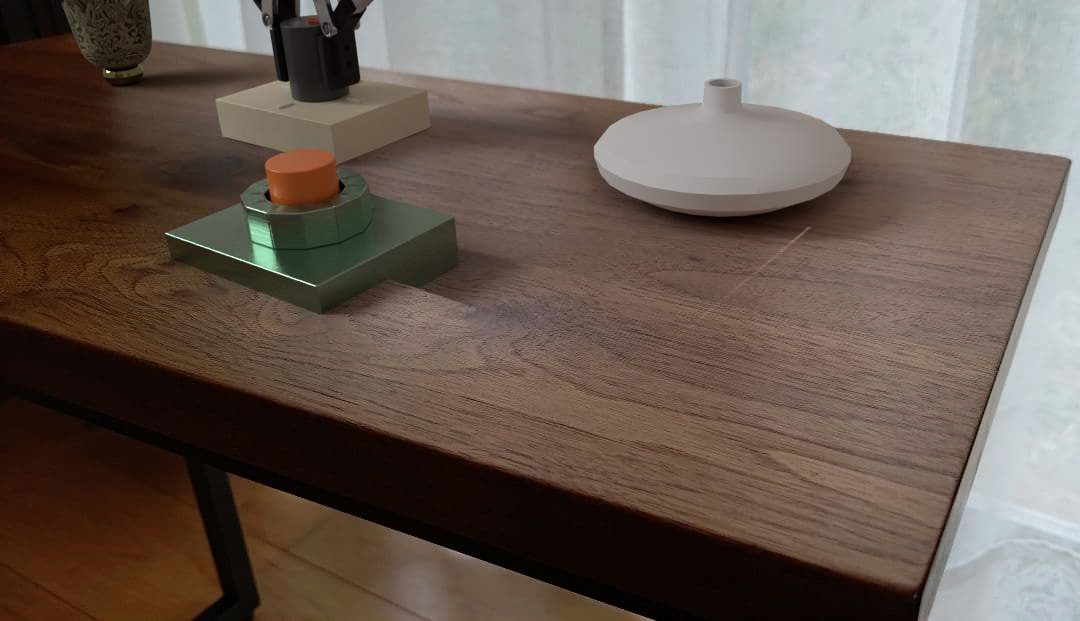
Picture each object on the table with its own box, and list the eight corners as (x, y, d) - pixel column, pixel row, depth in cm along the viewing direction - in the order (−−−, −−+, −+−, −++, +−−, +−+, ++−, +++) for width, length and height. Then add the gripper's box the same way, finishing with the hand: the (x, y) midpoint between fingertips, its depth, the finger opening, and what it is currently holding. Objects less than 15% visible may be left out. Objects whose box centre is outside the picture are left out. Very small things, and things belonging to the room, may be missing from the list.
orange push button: (257, 201, 53) (250, 164, 52) (308, 180, 55) (303, 144, 54) (302, 214, 51) (296, 176, 50) (354, 192, 53) (349, 155, 52)
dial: (279, 97, 76) (266, 19, 73) (322, 83, 79) (312, 8, 76) (318, 105, 74) (307, 25, 71) (361, 90, 77) (352, 13, 74)
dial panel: (222, 136, 78) (214, 97, 76) (318, 104, 85) (312, 67, 83) (336, 165, 71) (330, 122, 69) (431, 127, 78) (427, 87, 76)
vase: (772, 267, 53) (781, 141, 50) (543, 206, 62) (538, 95, 59) (887, 179, 64) (901, 70, 61) (678, 138, 73) (680, 41, 70)
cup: (92, 75, 97) (70, -10, 93) (170, 68, 98) (152, -16, 94) (75, 95, 90) (52, 5, 87) (160, 88, 92) (140, -1, 88)
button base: (176, 282, 55) (155, 197, 52) (313, 221, 62) (301, 144, 59) (325, 341, 48) (309, 247, 46) (459, 266, 55) (452, 181, 53)
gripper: (158, -180, 69) (210, 80, 78) (324, -184, 60) (361, 110, 69) (245, -185, 75) (284, 58, 83) (409, -190, 65) (434, 84, 74)
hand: (318, 79), depth 76 cm, fingers closed on dial, 4 cm apart
